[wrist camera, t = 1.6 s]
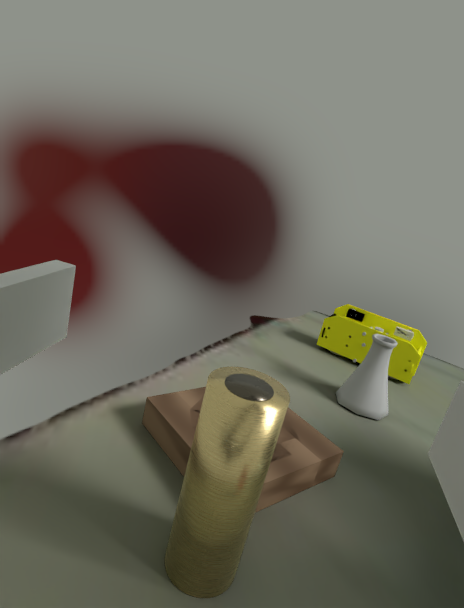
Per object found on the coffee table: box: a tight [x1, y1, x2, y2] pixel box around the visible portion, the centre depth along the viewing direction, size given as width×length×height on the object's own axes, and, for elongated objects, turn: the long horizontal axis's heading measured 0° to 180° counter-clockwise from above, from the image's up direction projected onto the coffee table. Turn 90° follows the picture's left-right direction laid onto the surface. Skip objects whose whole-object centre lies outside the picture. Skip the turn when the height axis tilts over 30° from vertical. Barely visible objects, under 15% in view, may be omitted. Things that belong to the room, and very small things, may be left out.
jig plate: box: [142, 387, 344, 512], centre depth 42 cm, size 14×14×3 cm
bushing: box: [165, 367, 290, 598], centre depth 27 cm, size 5×5×14 cm
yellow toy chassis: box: [317, 304, 427, 384], centre depth 71 cm, size 16×6×8 cm, turn 57°
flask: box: [336, 334, 398, 420], centre depth 56 cm, size 7×7×10 cm
